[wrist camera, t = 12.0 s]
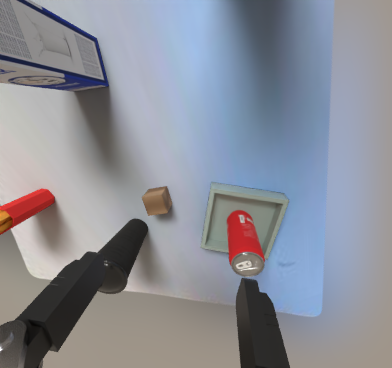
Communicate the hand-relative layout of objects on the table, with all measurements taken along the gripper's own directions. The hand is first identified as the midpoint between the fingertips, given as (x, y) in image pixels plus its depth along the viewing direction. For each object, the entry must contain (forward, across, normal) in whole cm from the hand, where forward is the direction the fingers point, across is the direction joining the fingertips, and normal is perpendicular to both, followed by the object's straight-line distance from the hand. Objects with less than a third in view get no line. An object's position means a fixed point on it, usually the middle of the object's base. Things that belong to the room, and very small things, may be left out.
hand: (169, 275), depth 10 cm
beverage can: (+25, -9, +12) cm, 29 cm away
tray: (+26, -9, +12) cm, 30 cm away
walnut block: (+26, +8, +10) cm, 29 cm away
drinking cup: (+26, +13, +19) cm, 34 cm away
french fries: (+26, +36, +15) cm, 47 cm away
